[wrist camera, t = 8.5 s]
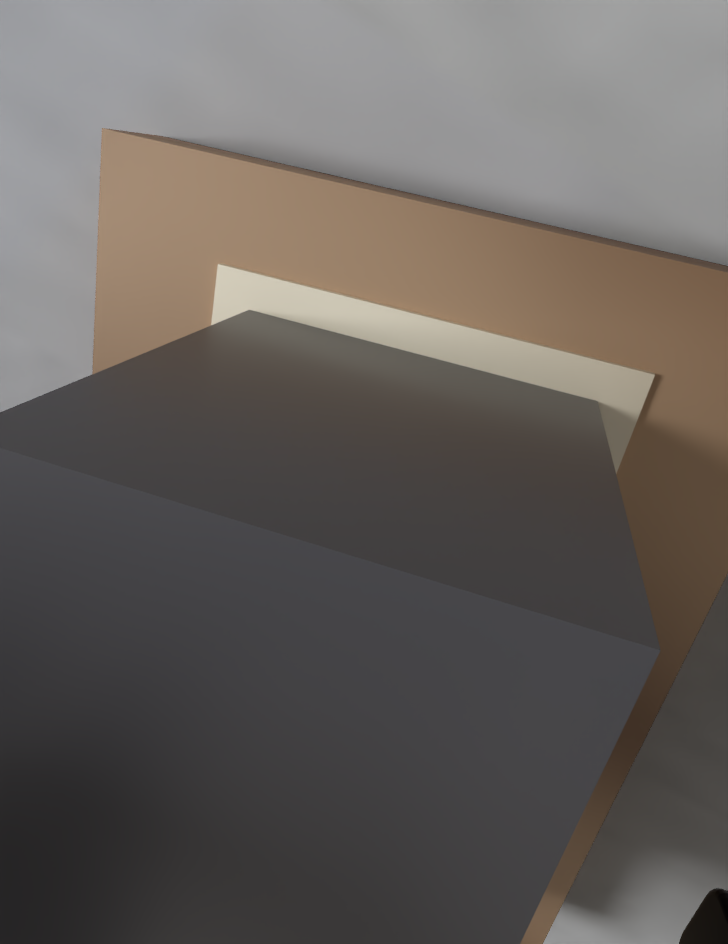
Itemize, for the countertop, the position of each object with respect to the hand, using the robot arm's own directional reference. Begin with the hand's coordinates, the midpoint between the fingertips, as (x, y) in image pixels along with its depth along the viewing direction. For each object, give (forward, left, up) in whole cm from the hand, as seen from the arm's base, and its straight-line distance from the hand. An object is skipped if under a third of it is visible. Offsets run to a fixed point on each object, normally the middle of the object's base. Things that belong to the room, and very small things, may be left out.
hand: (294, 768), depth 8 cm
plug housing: (0, 0, -3) cm, 3 cm away
